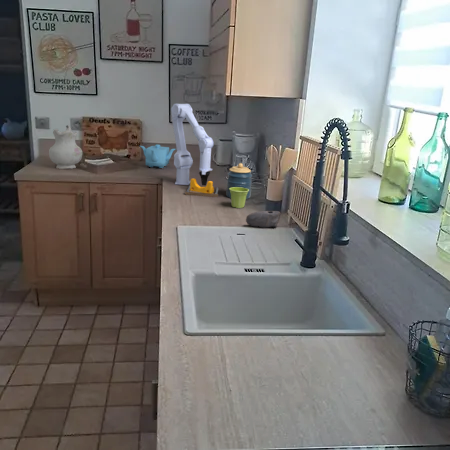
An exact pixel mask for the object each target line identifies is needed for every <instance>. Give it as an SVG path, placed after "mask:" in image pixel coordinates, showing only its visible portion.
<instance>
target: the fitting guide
mask: <svg viewBox="0 0 450 450" xmlns="http://www.w3.org/2000/svg"><path fill="white" fill-rule="evenodd" d="M218 193H219V187H216V189H215V193H201V192H195V191H190V184H189V185H188V187H187V190H186V191H184V194H185V195H186V196H193V197H194V196H195V197H196V196H197V197H210V198H218V197H219V194H218Z"/></svg>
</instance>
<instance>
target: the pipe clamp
mask: <svg viewBox="0 0 450 450" xmlns="http://www.w3.org/2000/svg"><path fill="white" fill-rule="evenodd" d="M189 185H190V192H198V193H212V194H215V193H214V192H215V186H213V185H214V182H213V181H211V180H209V181H208V180H207V183H206V186H200V185H199V184H198V182H197V178H193V177H192V178H190V184H189Z"/></svg>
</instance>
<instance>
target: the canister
mask: <svg viewBox="0 0 450 450" xmlns="http://www.w3.org/2000/svg"><path fill="white" fill-rule="evenodd" d="M228 169H229V172H227V173H226V174H227V176H228V177H227V179H226V191H225V194H226V197H227V198H229V199H231V193H230V190H229V188H232V187H242V188H246V189H249V191H248V193H247V196H246V200H249V199H250V198H251V194H252V192H251V191H252V190H251V189H252V181H253V180H252V177H253V174H252V173H251V172H252V170H251V169H249V167H247V166H244V164H243V163H242V162H239V163H238V165H236V166H234V165H233V166H232V167H230V168H228Z"/></svg>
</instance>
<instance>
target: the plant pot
mask: <svg viewBox="0 0 450 450" xmlns="http://www.w3.org/2000/svg"><path fill="white" fill-rule="evenodd" d="M229 190H230V193H231V198H230V201H231V207H232V208H236V209H242V208H244V207H245V204H246V200H247V199H246V196H247V193H248V191H249V189H246V188H242V187H232V188H229Z"/></svg>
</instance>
